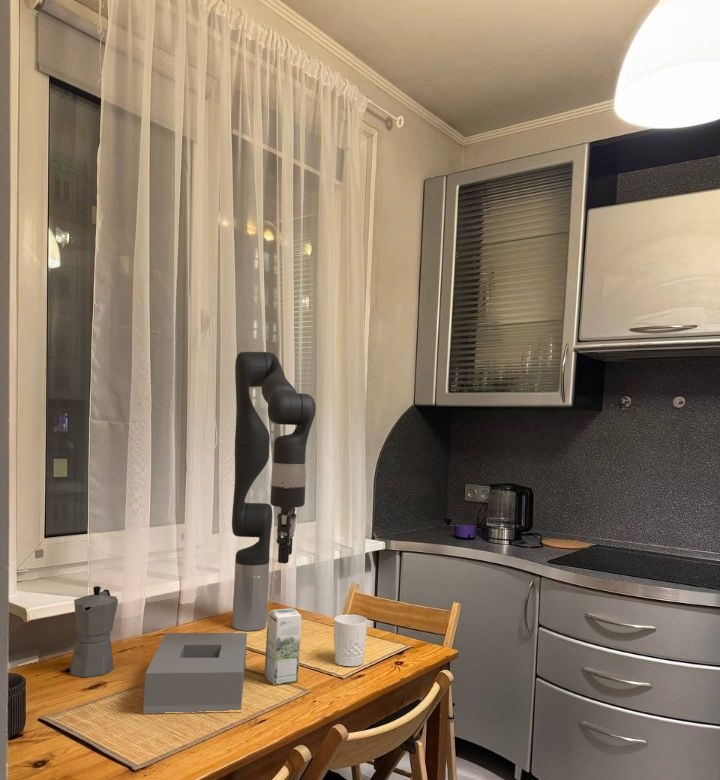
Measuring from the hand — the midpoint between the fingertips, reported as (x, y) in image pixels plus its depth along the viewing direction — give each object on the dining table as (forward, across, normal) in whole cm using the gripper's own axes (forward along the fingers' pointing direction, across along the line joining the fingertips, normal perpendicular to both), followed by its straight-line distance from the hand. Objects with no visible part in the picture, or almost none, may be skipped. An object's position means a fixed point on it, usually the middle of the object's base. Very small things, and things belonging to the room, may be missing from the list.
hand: (285, 558), depth 142 cm
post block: (+26, +6, -16) cm, 31 cm away
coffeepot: (+26, -3, -41) cm, 49 cm away
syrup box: (+26, 0, 0) cm, 26 cm away
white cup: (+26, -12, +15) cm, 33 cm away
